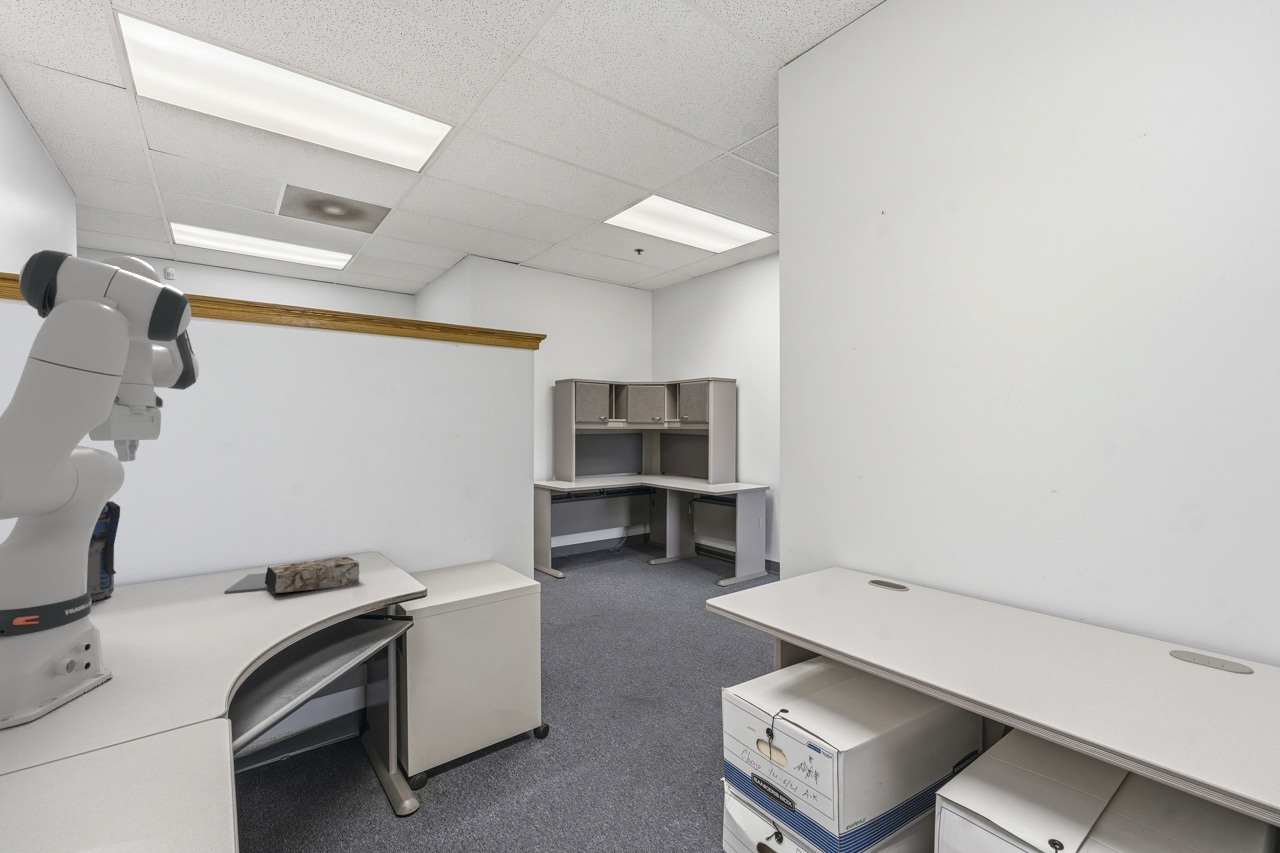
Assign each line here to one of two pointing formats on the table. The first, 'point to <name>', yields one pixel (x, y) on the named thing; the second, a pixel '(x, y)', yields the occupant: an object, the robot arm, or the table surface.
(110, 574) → the grey blue tall cylinder
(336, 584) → the stone block
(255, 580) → the mat
